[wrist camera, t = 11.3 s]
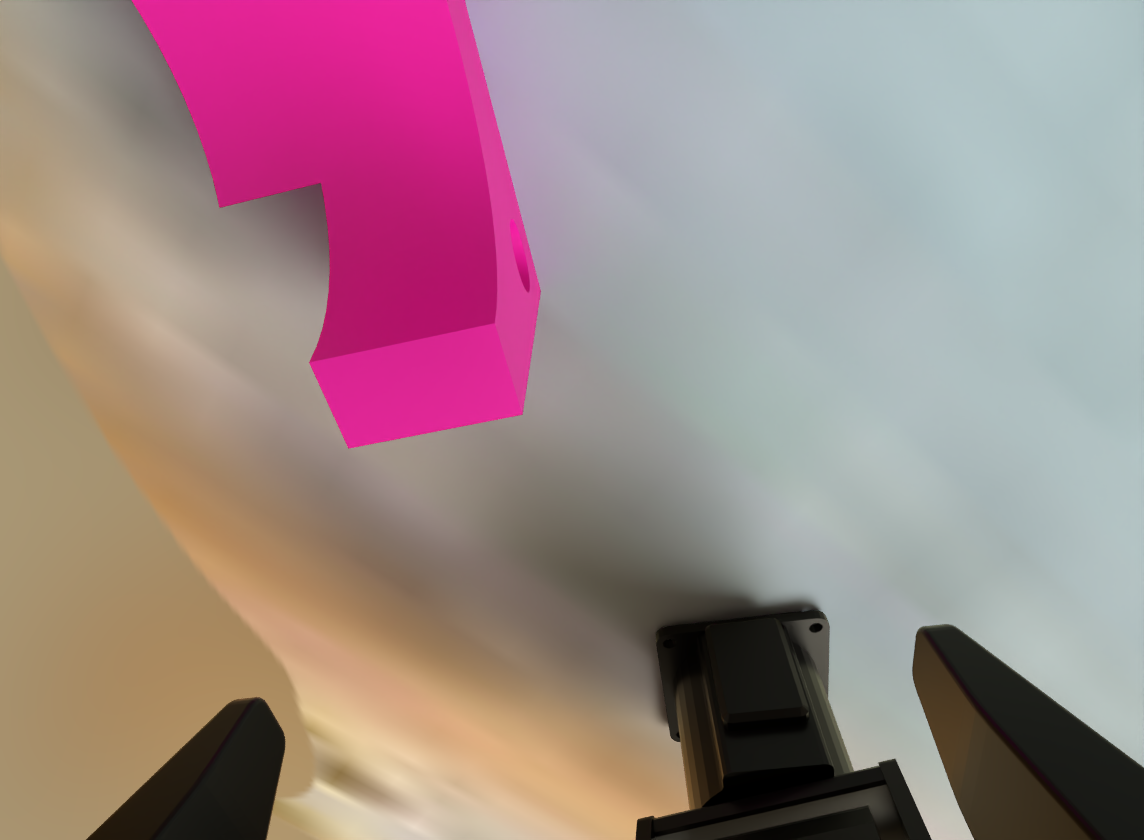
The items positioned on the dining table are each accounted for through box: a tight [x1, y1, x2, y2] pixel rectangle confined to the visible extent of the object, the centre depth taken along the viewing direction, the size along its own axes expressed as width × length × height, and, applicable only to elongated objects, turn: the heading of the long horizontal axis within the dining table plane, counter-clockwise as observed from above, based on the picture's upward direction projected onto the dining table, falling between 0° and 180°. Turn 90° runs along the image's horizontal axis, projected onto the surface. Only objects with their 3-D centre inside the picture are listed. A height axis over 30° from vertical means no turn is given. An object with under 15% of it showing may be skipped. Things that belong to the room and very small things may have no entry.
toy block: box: [132, 0, 541, 448], centre depth 14 cm, size 15×6×8 cm, turn 13°
